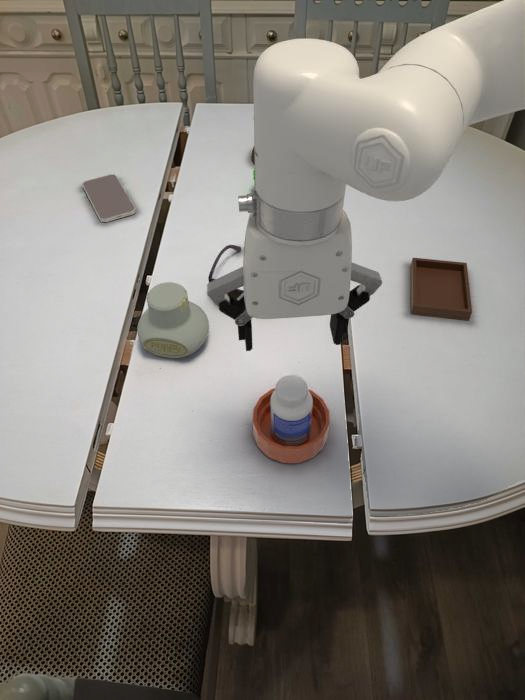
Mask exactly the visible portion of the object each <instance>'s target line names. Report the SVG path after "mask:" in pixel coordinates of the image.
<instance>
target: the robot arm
mask: <svg viewBox="0 0 525 700" xmlns="http://www.w3.org/2000/svg"><path fill="white" fill-rule="evenodd" d="M252 80H253V81H252V88H253V89H252V91H253V92H252V93H253V94H252V95H253V97H252V99H253V136H254V137H253V147H254V153H255V164H254V168H255V182H254V181H253V183H254V186H253V187H254V189H251V192H250V193H246V194H245V195H238V196H237V198H238V212H239V213H244V212H247V214H249V215H248V220H247V225H246V228H245V236H244V242H243V253H242V254H243V257H242V266H241V267H239V268H237V269H234V270H233V271H230V272H229V273H226V274H224V275H222V276H219V277H217V278H214V279H215V280H213V281H211V282H209V281H208V283H207V284H206V295H207V297H208V298H209V299H210V300H211V301H212V302H213V304H215V305H216V306H217V307H218V310H219V312H221V313H223V314H224V315H225V316H227V317H229V318H231V319H232V320H234V324H235V325H236V326H237V333H238V341H244V343H245V344H244V345H245V351H246V352H251V351H252V350H254V349H253V325H252V324H253V323H252V319H253V318H255V319H258V320H274V319H275V320H276V319H277V320H278V319H294V318H309V317H321V316H330V317H329V329H330V333H331V338H332V343H333V344H334V345H335V346H339V345H341V344H342V340H343V335H344V334H347V333H348V329H349V322H350V319H352V318H354V316H355V312H356V311H358V310H359V309H360V308H362V307H363V306H364V305H366V304H368V302H370V300H371V296H372V295H374V294H375V293H376V292H377V291H378V290H379V288H380V287H381V286H382V285H383V280H382V277H381V274H380V273H379V271H377V270H374V269H371V268H368V267H366V266H363V265H361V264H357V263H354V262H353V235H352V234H353V233H352V225H351V221H350V218H349V217H348V215H347V212H346V211H345V209H344V204H345V197H346V190H347V186H349V187H351V188H352V189H354V190H356V191H358V192H360V193H362V194H365V195H367V196H368V197H371V198H375V199H377V200H382V201H386V202H404V201H409V200H412V199H413V200H414V199H415V198H418V197H419V196H421V195H422V194H424V193H425V192H427V191H428V190H429V189H430V188H431V187H432V186H433V185H435V183H436V182H437V180H438V179H439V178H440V176H441V175H442V174H443V172H444V170H445V168H446V166H447V165H448V162H449V160H450V159H451V157H452V155H453V153H454V152H455V150H456V148H457V147H458V144H459V143H460V141H461V139H462V137H463V135H464V134H465V132H466V130H467V129H468V126H471V125H474V124H477V123H481V122H482V121H486V120H489V119H490V120H491V119H493V118H497V117H500V116H504V115H508V114H513V113H515V112H519V111H524V110H525V0H501V1H499V2H496V3H493V4H492V5H489V6H486V7H484V8H483V7H482V8H481V9H479V10H477V11H474V12H472V13H469V14H466V15H464V16H462V17H460V18H456V19H454V20H452V21H450V22H447V23H445V24H443V25H440V26H438V27H436V28H433V29H431V30H430V31H429V30H428V31H427V32H425V33H423V34H421V35H419V36H418V37H416V38H414V39H412V40H411V41H409V42H408V43H406V44H405V45H404V46H403V47H401V48H400V49H399V50H398V51H396V52H395V54H393V56H392V57H390V58H389V60H388V61H387V62H386V63H385V64H384V65H383V66H382V68H380V70H379V71H378V72H377V73H375V74H372V75H370V76H366V77H363V78H361V77H360V68H359V63H358V61H357V59H356V57H355V56H354V55H353V53H352V52H351V51H350V50H349V49H347V48H346V47H344V46H343V45H340V44H338V43H335V42H332V41H329V40H326V39H325V40H324V39H318V38H293V39H288V40H285V41H279V42H276V43H274V44H272V45H269V47H268V48H266V49H265V50H263V51H262V53H261V54H260V55H259V57H258V59H257V60H256V63H255V65H254V69H253V79H252ZM351 282H354V283H357V284H358V285H356V286H355V287H354V288H352V289H351ZM240 288H243V289H242V290H244V292H243V293H242V294H241V295H240V296H239V297H238V298H237V299H235V298H234V297H232V296H231V295H229V294H227V293H229V292H231V291H233V290H235V289H240Z"/></svg>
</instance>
